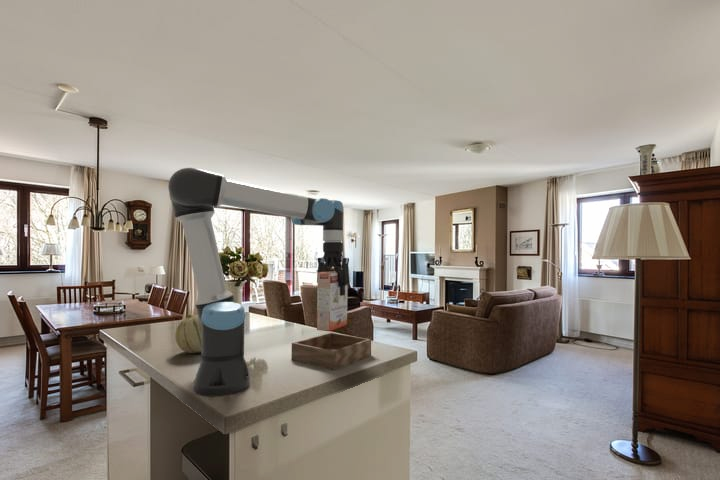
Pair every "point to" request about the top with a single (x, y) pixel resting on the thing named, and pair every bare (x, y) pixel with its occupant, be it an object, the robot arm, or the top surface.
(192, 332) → the cantaloupe
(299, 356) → the box
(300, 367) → the top surface
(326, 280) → the cracker box
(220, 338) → the robot arm
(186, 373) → the top surface
